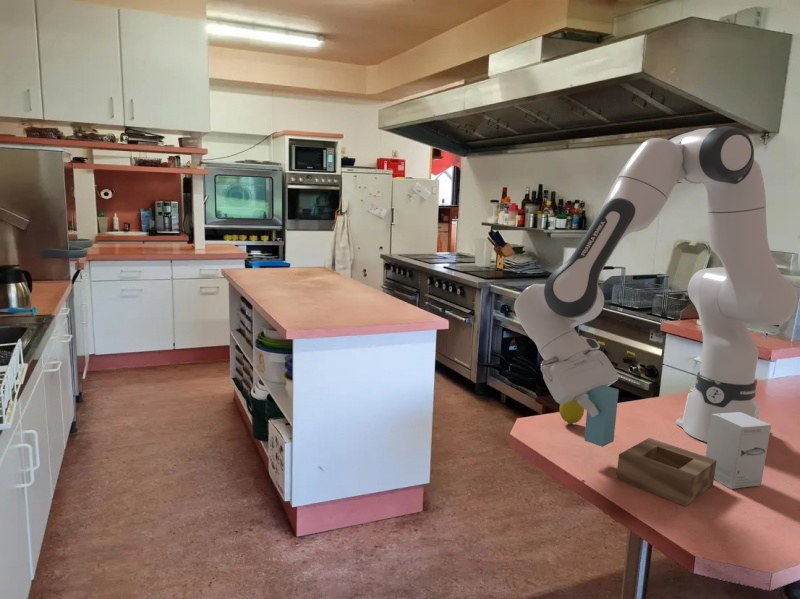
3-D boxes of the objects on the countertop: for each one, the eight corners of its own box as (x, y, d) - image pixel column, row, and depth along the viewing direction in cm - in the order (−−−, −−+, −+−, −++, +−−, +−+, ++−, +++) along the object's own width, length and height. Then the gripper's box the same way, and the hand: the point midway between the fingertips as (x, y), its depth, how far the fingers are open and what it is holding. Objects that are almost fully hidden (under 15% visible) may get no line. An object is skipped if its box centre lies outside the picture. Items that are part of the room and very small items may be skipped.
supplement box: (732, 490, 108) (742, 427, 106) (701, 472, 115) (710, 412, 113) (762, 486, 111) (773, 424, 108) (730, 469, 118) (740, 410, 115)
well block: (646, 460, 120) (649, 437, 119) (713, 484, 110) (716, 460, 109) (616, 478, 111) (619, 454, 110) (685, 506, 102) (689, 480, 101)
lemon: (583, 430, 134) (586, 397, 133) (558, 427, 135) (562, 395, 134) (580, 421, 140) (584, 390, 138) (557, 419, 141) (560, 387, 139)
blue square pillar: (595, 434, 120) (600, 384, 118) (613, 441, 117) (618, 389, 115) (584, 440, 117) (588, 388, 115) (602, 447, 114) (607, 394, 112)
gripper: (547, 354, 112) (589, 416, 107) (600, 338, 126) (639, 393, 120) (526, 370, 116) (565, 431, 111) (580, 354, 130) (617, 407, 124)
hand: (604, 411), depth 116 cm, fingers closed on blue square pillar, 4 cm apart
